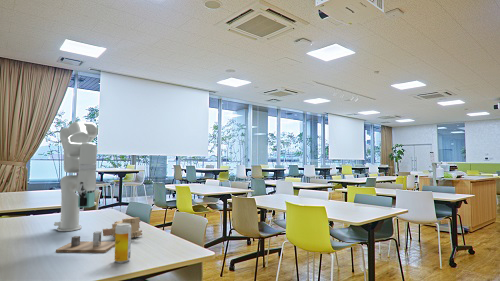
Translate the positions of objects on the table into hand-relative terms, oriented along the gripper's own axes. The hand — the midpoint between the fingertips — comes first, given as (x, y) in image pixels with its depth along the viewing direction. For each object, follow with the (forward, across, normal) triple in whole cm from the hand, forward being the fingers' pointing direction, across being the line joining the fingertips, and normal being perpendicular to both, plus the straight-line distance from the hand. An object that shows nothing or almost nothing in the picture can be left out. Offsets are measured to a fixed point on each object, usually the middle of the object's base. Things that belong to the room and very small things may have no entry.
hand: (86, 204), depth 152 cm
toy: (+20, -17, +11) cm, 28 cm away
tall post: (+18, +4, +8) cm, 20 cm away
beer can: (+20, +22, +27) cm, 40 cm away
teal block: (+1, 0, 0) cm, 1 cm away
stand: (+20, +4, +4) cm, 20 cm away
